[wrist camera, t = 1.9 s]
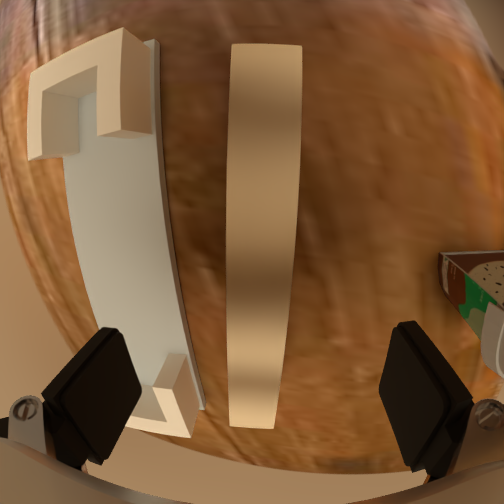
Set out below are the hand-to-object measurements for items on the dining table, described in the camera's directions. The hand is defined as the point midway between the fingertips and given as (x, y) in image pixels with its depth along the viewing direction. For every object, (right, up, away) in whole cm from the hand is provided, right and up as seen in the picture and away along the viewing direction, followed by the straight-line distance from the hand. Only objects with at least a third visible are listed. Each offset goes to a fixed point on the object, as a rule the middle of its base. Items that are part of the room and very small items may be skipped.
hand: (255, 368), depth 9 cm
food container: (+19, +1, +10) cm, 21 cm away
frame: (-9, +4, +10) cm, 15 cm away
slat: (+1, +4, +10) cm, 11 cm away
